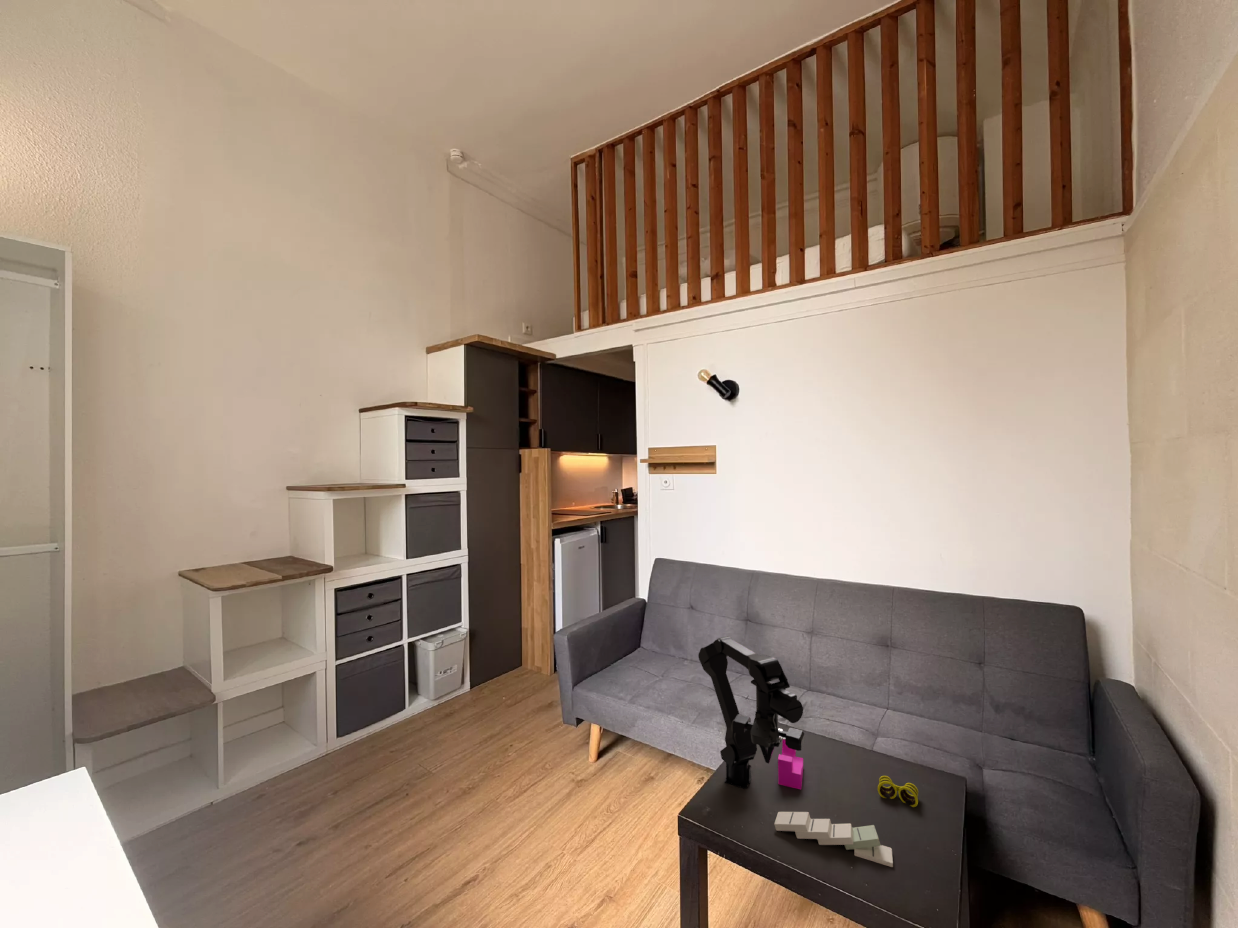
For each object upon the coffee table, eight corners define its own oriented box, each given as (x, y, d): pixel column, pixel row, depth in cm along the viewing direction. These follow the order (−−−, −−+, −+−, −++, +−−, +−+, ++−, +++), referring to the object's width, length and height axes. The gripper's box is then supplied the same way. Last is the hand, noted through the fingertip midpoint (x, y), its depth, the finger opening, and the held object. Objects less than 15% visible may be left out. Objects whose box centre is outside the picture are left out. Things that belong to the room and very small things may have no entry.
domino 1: (774, 823, 124) (805, 824, 121) (778, 811, 129) (808, 811, 125) (776, 830, 124) (807, 831, 120) (780, 817, 129) (810, 818, 125)
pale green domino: (843, 842, 118) (878, 838, 116) (840, 828, 122) (873, 824, 120) (846, 849, 117) (880, 845, 115) (842, 835, 122) (876, 831, 120)
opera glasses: (918, 799, 135) (918, 781, 135) (918, 811, 131) (917, 792, 131) (879, 787, 140) (879, 770, 140) (877, 798, 136) (877, 780, 136)
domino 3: (816, 837, 120) (850, 836, 116) (818, 823, 124) (850, 822, 121) (819, 844, 119) (853, 844, 116) (820, 830, 124) (853, 830, 121)
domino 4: (854, 851, 116) (892, 862, 113) (854, 836, 121) (891, 847, 117) (854, 858, 116) (892, 870, 112) (854, 843, 121) (891, 854, 117)
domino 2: (794, 831, 122) (827, 831, 118) (798, 818, 126) (829, 818, 123) (797, 838, 122) (830, 838, 118) (800, 825, 126) (832, 825, 122)
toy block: (801, 790, 140) (800, 764, 140) (778, 784, 142) (778, 758, 142) (804, 761, 153) (803, 737, 153) (783, 756, 156) (783, 733, 156)
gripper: (724, 709, 131) (724, 767, 131) (796, 728, 121) (797, 790, 121) (737, 692, 141) (737, 746, 141) (805, 709, 131) (805, 766, 131)
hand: (767, 762), depth 133 cm, fingers closed
